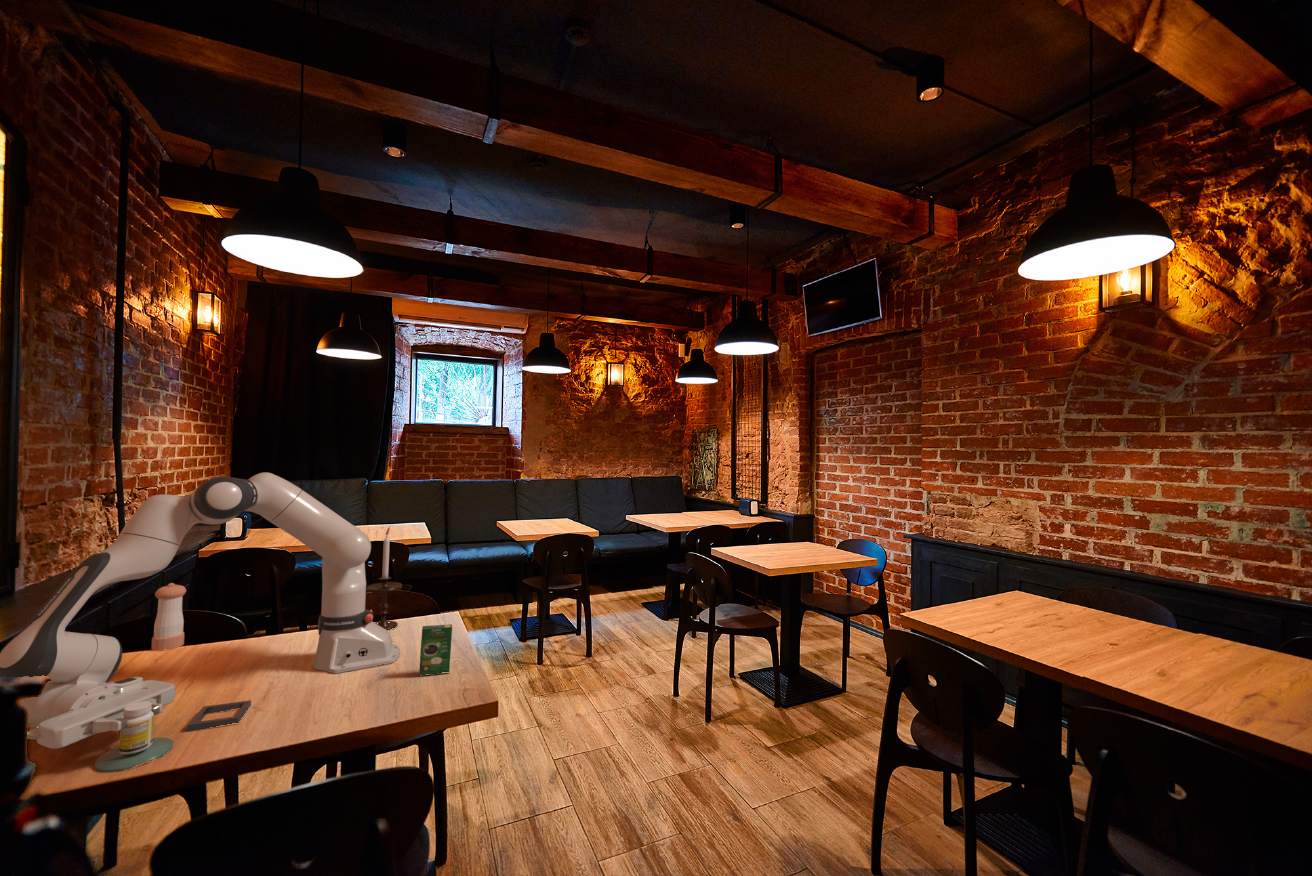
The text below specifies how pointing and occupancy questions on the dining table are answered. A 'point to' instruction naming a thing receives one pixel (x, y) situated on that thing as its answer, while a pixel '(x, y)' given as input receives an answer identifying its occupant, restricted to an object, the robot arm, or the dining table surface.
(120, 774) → the dining table surface
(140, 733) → the supplement bottle
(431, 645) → the coffee box
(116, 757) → the green coaster
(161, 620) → the pepper shaker
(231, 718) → the square metal frame
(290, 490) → the robot arm
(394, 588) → the candlestick
